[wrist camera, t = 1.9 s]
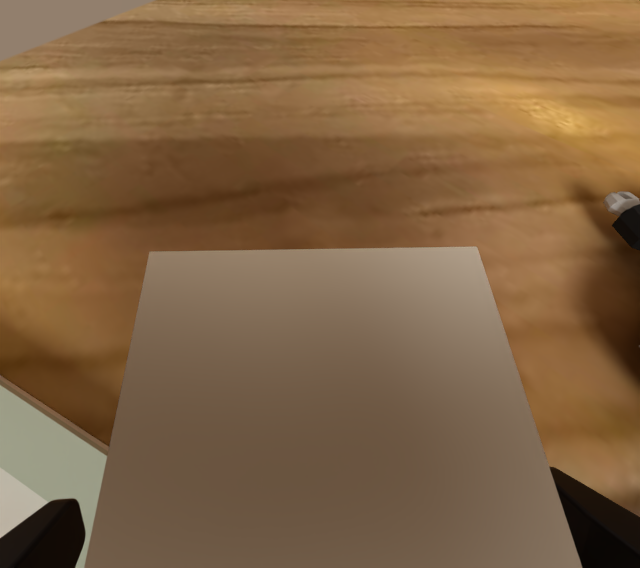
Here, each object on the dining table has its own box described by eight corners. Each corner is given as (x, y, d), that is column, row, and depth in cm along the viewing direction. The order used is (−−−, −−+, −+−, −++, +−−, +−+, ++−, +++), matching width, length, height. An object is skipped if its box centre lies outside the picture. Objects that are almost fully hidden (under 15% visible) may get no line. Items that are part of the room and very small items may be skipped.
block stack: (364, 533, 14) (625, 700, 3) (248, 542, 14) (43, 769, 3) (353, 413, 16) (477, 246, 5) (252, 418, 16) (149, 250, 5)
